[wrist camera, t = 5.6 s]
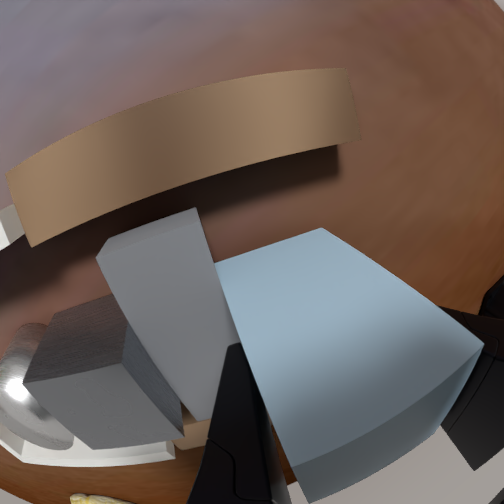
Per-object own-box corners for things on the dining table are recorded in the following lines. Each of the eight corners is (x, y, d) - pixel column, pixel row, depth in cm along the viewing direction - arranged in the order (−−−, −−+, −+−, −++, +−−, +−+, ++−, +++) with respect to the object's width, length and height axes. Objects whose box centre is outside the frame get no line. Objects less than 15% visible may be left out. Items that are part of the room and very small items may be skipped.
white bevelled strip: (34, 194, 7) (-3, 212, 5) (171, 421, 13) (175, 458, 10) (-84, 287, 5) (-105, 308, 3) (28, 436, 11) (23, 462, 8)
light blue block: (313, 173, 9) (513, 247, 3) (333, 343, 12) (417, 454, 6) (108, 238, 8) (15, 437, 2) (193, 394, 11) (223, 534, 5)
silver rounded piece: (55, 313, 9) (21, 384, 5) (102, 379, 10) (93, 449, 7) (2, 332, 8) (-30, 390, 5) (47, 389, 10) (31, 449, 6)
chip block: (135, 286, 9) (121, 362, 6) (176, 361, 11) (184, 437, 7) (54, 313, 9) (21, 384, 5) (102, 379, 10) (92, 450, 7)
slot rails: (323, 76, 8) (345, 68, 7) (353, 365, 15) (366, 381, 13) (26, 168, 7) (4, 173, 5) (178, 429, 13) (181, 450, 12)
